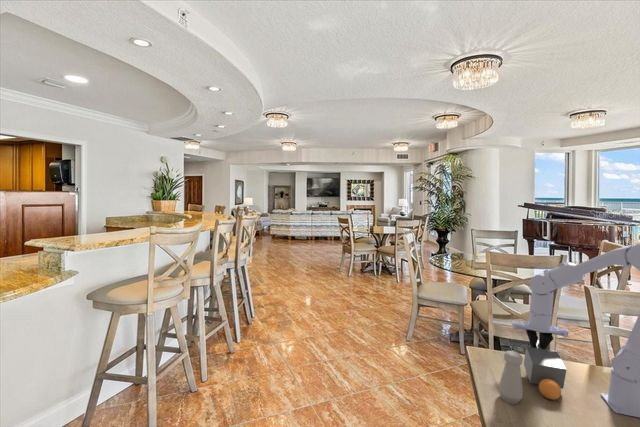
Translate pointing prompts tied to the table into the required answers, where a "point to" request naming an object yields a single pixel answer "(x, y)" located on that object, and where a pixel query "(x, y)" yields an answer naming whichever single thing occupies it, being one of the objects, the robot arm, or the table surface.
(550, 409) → the table surface
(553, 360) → the grey block with fin
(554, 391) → the ball
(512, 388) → the salt shaker
